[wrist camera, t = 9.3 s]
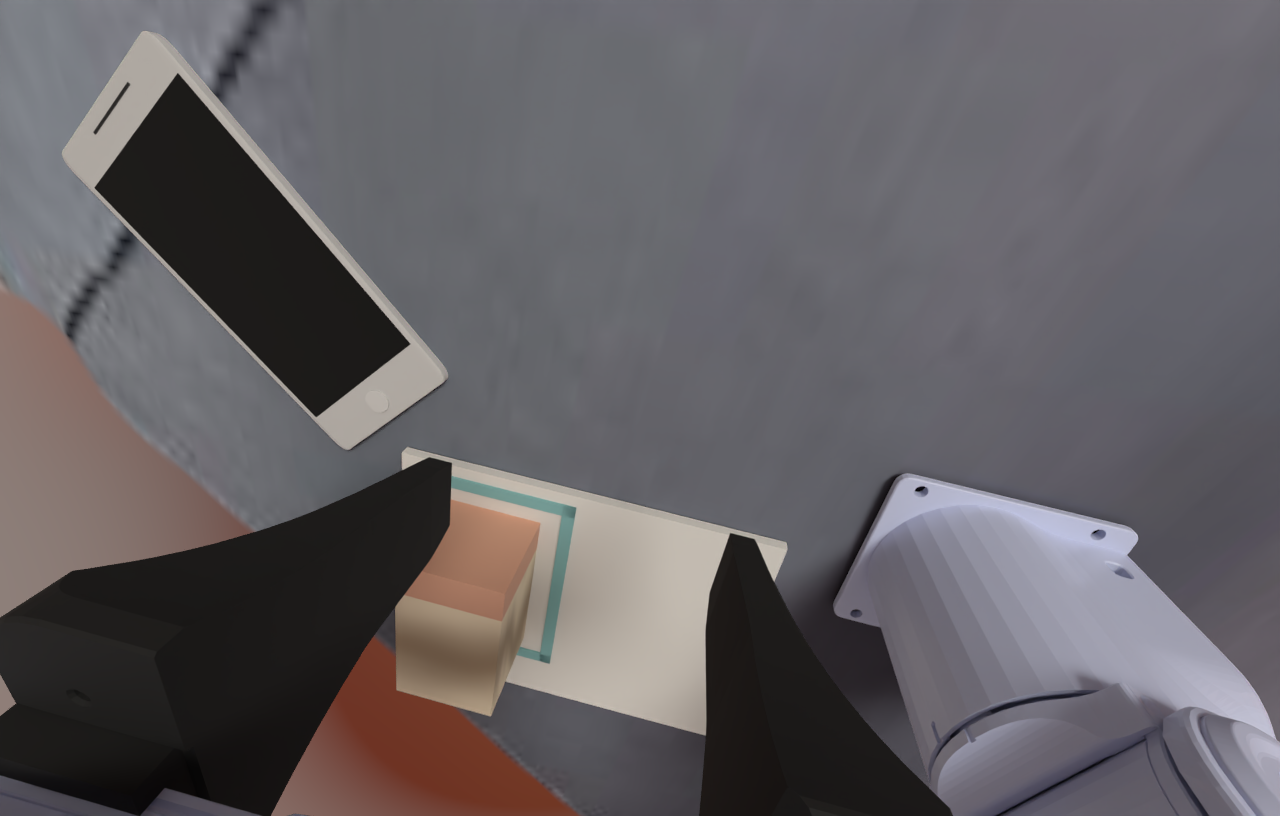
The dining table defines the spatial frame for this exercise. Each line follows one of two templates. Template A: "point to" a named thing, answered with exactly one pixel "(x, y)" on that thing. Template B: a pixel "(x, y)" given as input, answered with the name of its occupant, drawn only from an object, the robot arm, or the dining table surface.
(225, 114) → the smartphone
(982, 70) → the dining table surface
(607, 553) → the mat
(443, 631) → the block
